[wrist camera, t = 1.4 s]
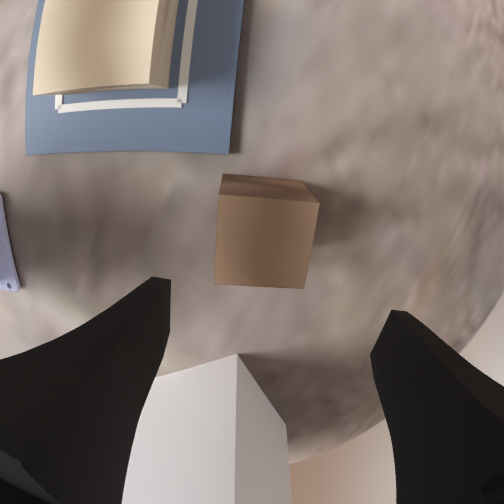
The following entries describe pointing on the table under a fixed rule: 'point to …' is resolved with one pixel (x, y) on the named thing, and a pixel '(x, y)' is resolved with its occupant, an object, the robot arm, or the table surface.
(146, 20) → the maple block
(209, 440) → the milk
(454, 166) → the table surface
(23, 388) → the robot arm
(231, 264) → the walnut cube
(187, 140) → the board
